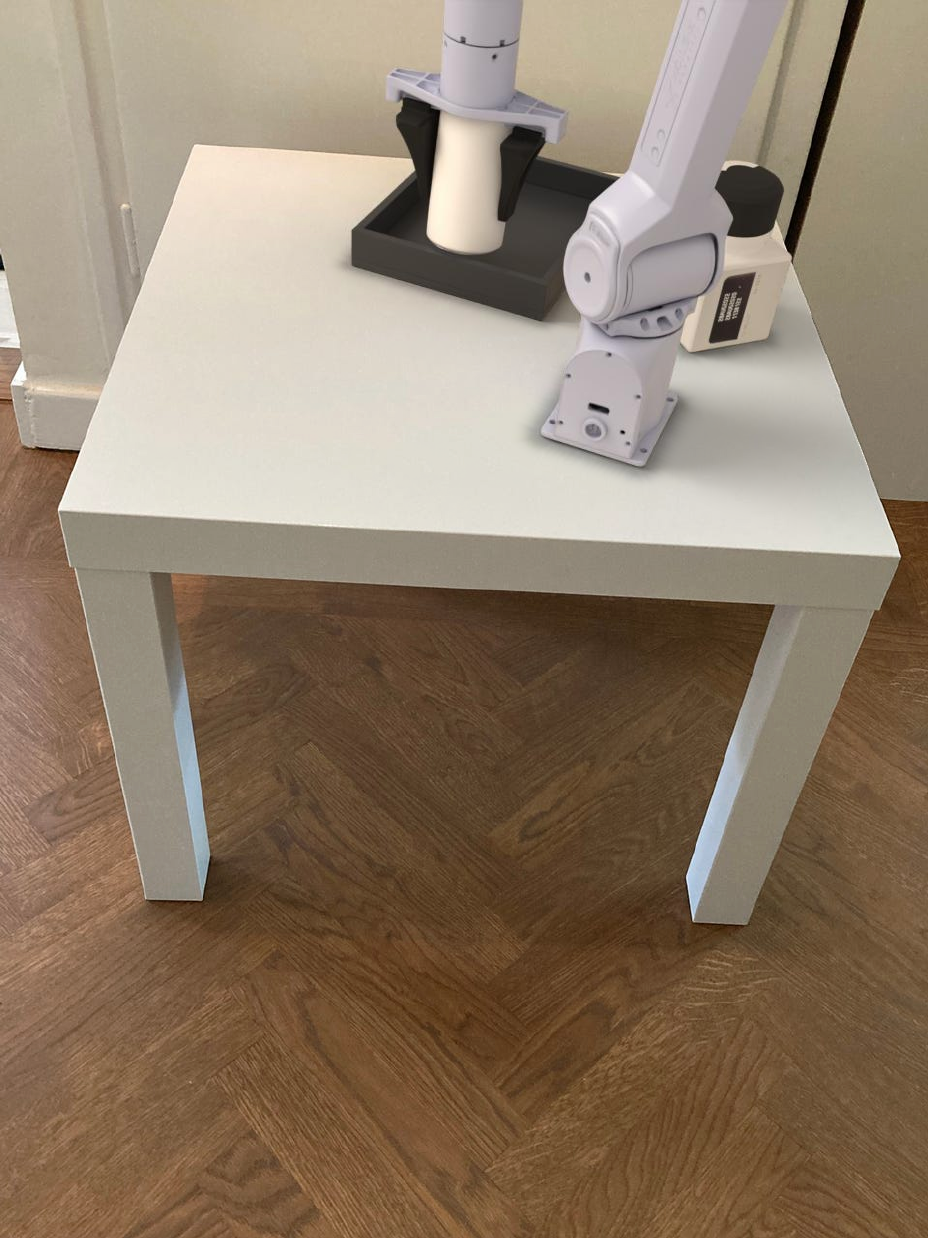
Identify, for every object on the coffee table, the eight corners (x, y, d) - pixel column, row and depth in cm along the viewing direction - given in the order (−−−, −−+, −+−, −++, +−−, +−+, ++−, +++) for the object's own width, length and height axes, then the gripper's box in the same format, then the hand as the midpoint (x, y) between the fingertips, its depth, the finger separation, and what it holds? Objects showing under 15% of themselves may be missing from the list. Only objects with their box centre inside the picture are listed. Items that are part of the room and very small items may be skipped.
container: (769, 340, 96) (814, 190, 86) (688, 354, 93) (726, 202, 84) (721, 292, 100) (760, 145, 91) (643, 304, 98) (674, 155, 89)
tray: (542, 321, 95) (547, 285, 93) (351, 265, 99) (351, 229, 97) (621, 211, 109) (627, 178, 107) (451, 166, 113) (453, 133, 111)
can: (503, 235, 100) (526, 88, 93) (499, 262, 95) (523, 109, 88) (429, 223, 100) (446, 75, 93) (421, 250, 95) (439, 95, 87)
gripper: (591, 36, 86) (565, 207, 96) (415, -6, 90) (408, 164, 100) (559, 69, 82) (536, 244, 92) (375, 23, 85) (372, 198, 95)
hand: (467, 205), depth 95 cm, fingers closed on can, 6 cm apart
